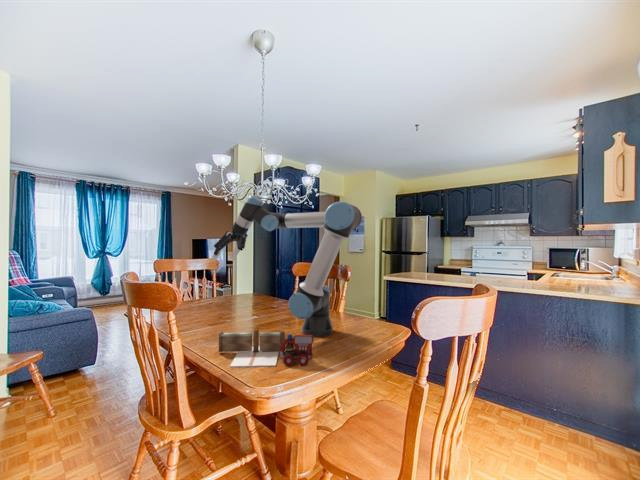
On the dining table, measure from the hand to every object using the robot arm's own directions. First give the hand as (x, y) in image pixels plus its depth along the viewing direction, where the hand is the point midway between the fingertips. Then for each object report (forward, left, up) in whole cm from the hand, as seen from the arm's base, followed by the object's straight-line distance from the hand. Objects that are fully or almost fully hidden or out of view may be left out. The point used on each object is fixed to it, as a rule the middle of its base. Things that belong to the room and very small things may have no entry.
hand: (223, 259), depth 148 cm
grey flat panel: (-14, +35, -34) cm, 51 cm away
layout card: (-23, +38, -35) cm, 57 cm away
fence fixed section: (-27, +35, -35) cm, 56 cm away
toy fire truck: (-39, +45, -35) cm, 69 cm away
